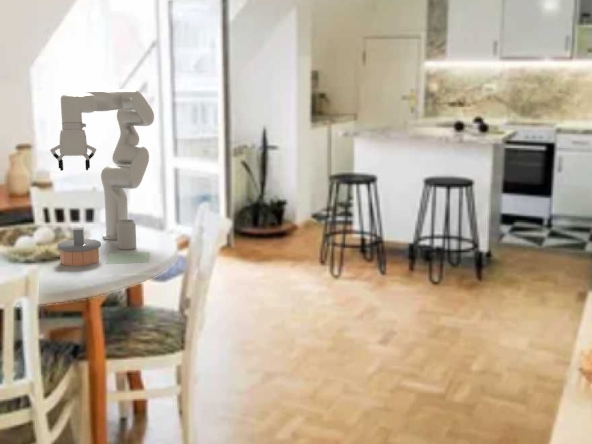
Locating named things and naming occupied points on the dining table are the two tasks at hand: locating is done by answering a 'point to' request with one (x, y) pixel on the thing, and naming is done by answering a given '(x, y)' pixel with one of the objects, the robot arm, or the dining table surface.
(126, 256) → the mat
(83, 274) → the dining table surface
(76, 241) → the lid
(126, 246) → the can
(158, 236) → the dining table surface
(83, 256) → the bowl
